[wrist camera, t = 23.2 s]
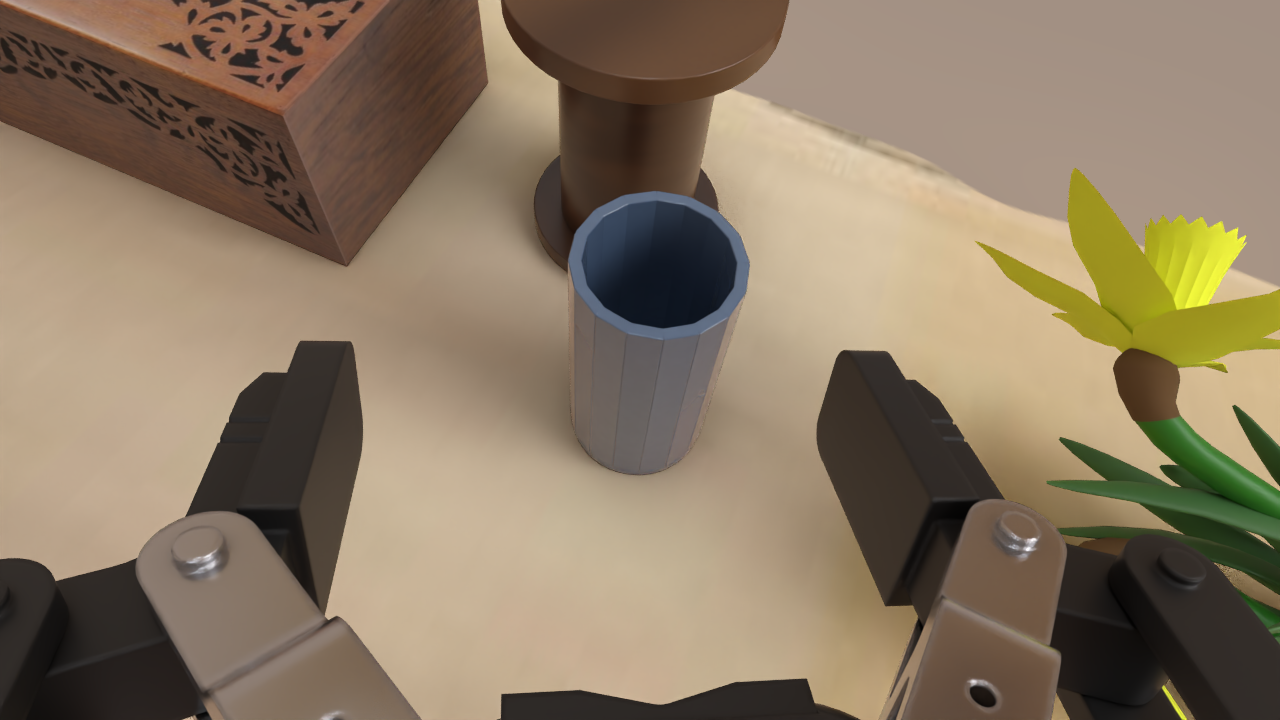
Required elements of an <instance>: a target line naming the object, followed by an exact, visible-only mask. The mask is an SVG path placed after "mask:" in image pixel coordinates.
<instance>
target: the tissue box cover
mask: <svg viewBox="0 0 1280 720" xmlns="http://www.w3.org/2000/svg"><path fill="white" fill-rule="evenodd" d="M487 84H488V78H487V70H486V62H485V54H484V46H483V38H482V30H481V21H480V13H479V5H478V0H0V121H2V122H5V123H7V124H9V125H12V126H14V127H17V128H19V129H21V130H24V131H26V132H29V133H31V134H33V135H36V136H38V137H40V138H43V139H45V140H48V141H50V142H52V143H55V144H57V145H59V146H62V147H64V148H67V149H69V150H71V151H74V152H76V153H78V154H81V155H83V156H86V157H88V158H90V159H93V160H95V161H97V162H100V163H102V164H105V165H107V166H109V167H112V168H114V169H117V170H119V171H121V172H124V173H126V174H128V175H131V176H133V177H136V178H138V179H140V180H143V181H145V182H147V183H150V184H152V185H155V186H157V187H159V188H162V189H164V190H166V191H169V192H171V193H174V194H176V195H178V196H181V197H183V198H186V199H188V200H190V201H193V202H195V203H197V204H200V205H202V206H205V207H207V208H209V209H212V210H214V211H216V212H219V213H221V214H224V215H226V216H228V217H231V218H233V219H235V220H238V221H240V222H243V223H245V224H247V225H250V226H252V227H254V228H257V229H259V230H262V231H264V232H266V233H269V234H271V235H274V236H276V237H278V238H281V239H283V240H285V241H288V242H290V243H293V244H295V245H297V246H300V247H302V248H304V249H307V250H309V251H312V252H314V253H316V254H319V255H321V256H323V257H326V258H328V259H331V260H333V261H335V262H338V263H340V264H343V265H345V266H347V265H348V263H349V262H350V261H351V260H352V258H353V257H354V256H355V254H356V253H357V252H358V251H359V249H360V248H361V247H362V245H363V244H364V243H365V241H366V240H367V239H368V238H369V236H370V235H371V234H372V232H373V231H374V230H375V228H376V227H377V226H378V225H379V223H380V222H381V221H382V219H383V218H384V217H385V216H386V214H387V213H388V212H389V210H390V209H391V208H392V206H393V205H394V204H395V203H396V201H397V200H398V199H399V197H400V196H401V195H402V193H403V192H404V191H405V190H406V188H407V187H408V186H409V184H410V183H411V182H412V181H413V179H414V178H415V177H416V175H417V174H418V173H419V171H420V170H421V169H422V168H423V166H424V165H425V164H426V162H427V161H428V160H429V158H430V157H431V156H432V155H433V153H434V152H435V151H436V149H437V148H438V147H439V146H440V144H441V143H442V142H443V140H444V139H445V138H446V136H447V135H448V134H449V133H450V131H451V130H452V129H453V127H454V126H455V125H456V123H457V122H458V121H459V120H460V118H461V117H462V116H463V114H464V113H465V112H466V110H467V109H468V108H469V107H470V105H471V104H472V103H473V101H474V100H475V99H476V98H477V96H478V95H479V94H480V92H481V91H482V90H483V88H484V87H485V86H486V85H487Z"/></svg>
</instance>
